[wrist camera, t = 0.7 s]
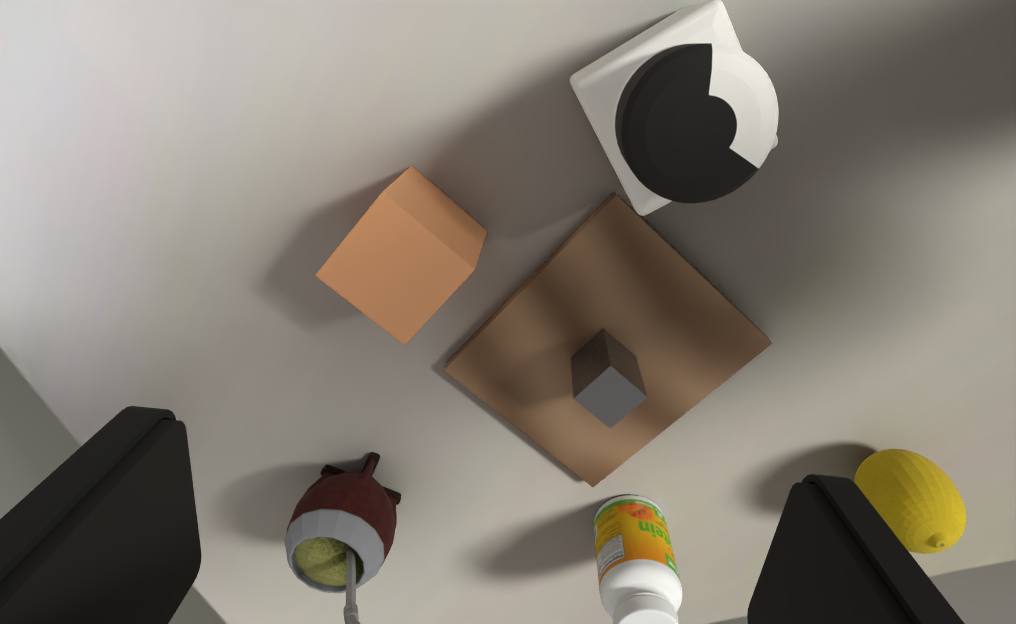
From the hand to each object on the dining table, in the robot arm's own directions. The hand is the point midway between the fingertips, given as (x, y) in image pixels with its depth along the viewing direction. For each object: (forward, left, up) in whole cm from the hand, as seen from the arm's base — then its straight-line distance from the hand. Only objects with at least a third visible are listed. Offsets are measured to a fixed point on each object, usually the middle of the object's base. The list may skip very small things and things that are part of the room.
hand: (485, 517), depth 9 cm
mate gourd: (+26, +7, -29) cm, 39 cm away
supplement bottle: (+15, +23, -29) cm, 40 cm away
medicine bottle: (-7, +3, -29) cm, 30 cm away
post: (+6, +12, -29) cm, 32 cm away
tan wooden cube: (+8, -2, -29) cm, 30 cm away
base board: (+6, +12, -29) cm, 32 cm away
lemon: (-1, +32, -29) cm, 43 cm away
